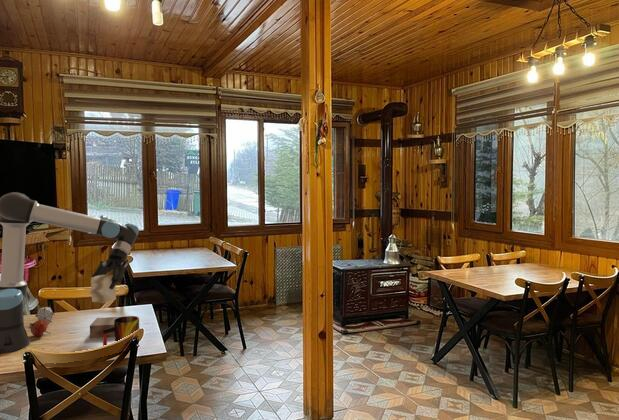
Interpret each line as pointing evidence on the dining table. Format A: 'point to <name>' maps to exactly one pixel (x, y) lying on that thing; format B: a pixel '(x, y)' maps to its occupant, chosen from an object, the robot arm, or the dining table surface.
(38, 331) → the pomegranate
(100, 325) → the walnut block
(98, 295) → the maple block
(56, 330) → the dining table surface
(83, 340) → the dining table surface
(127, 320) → the mug
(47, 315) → the game die
